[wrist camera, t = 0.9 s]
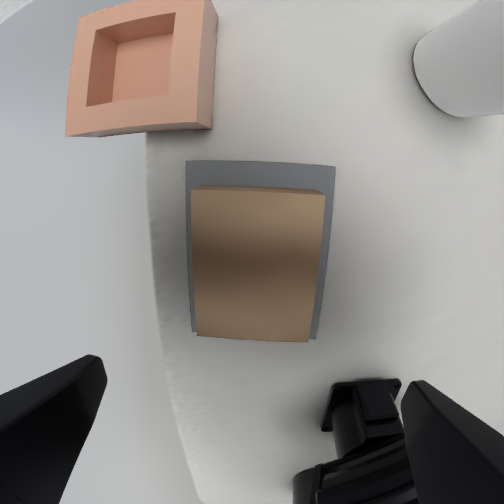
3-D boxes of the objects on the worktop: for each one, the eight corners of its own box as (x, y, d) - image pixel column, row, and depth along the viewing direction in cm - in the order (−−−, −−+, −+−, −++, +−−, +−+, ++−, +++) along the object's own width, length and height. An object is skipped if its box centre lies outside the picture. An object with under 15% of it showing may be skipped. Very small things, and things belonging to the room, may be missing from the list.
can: (393, 47, 14) (501, -30, 3) (451, 28, 13) (553, -22, 1) (439, 130, 16) (579, 131, 4) (491, 103, 14) (609, 98, 3)
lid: (304, 321, 20) (308, 342, 18) (204, 315, 20) (196, 335, 18) (317, 190, 17) (325, 195, 15) (201, 185, 18) (191, 190, 15)
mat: (314, 336, 21) (315, 339, 20) (193, 329, 21) (192, 332, 21) (334, 166, 17) (335, 166, 17) (187, 160, 17) (185, 161, 17)
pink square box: (212, 128, 17) (196, 121, 13) (99, 137, 17) (65, 136, 13) (218, 17, 14) (206, -12, 10) (109, 34, 15) (80, 17, 11)
